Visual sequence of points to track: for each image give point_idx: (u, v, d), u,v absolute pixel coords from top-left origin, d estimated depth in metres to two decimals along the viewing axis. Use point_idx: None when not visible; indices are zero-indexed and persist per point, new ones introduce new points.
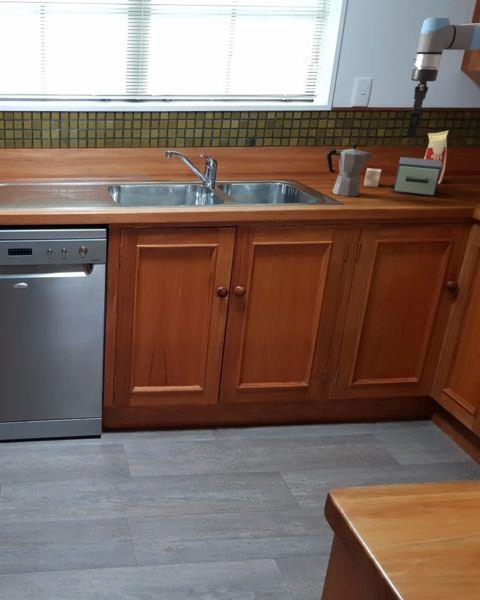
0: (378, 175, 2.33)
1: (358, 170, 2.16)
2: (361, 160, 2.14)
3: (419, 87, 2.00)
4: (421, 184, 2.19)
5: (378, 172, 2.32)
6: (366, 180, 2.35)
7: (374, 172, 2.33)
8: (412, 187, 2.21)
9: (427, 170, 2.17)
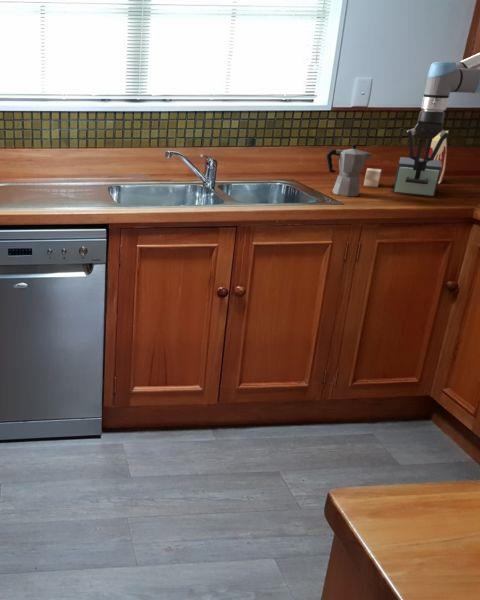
0: (378, 175, 2.33)
1: (358, 170, 2.16)
2: (361, 160, 2.14)
3: (446, 136, 2.06)
4: (421, 185, 2.18)
5: (378, 172, 2.32)
6: (366, 180, 2.35)
7: (374, 172, 2.33)
8: (412, 188, 2.20)
9: (427, 171, 2.16)
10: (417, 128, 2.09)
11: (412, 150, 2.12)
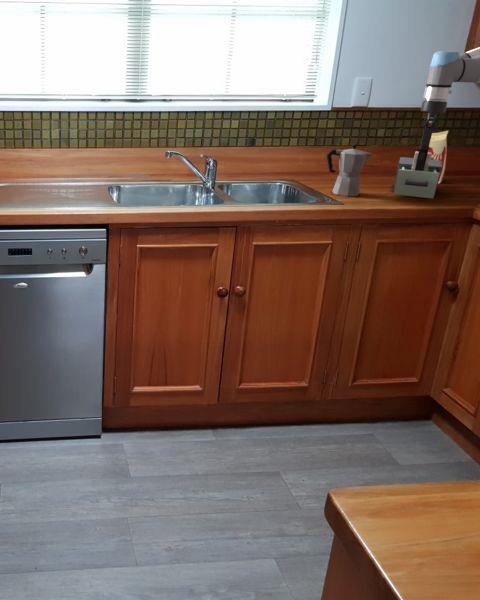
0: (428, 158, 2.11)
1: (358, 170, 2.16)
2: (361, 160, 2.14)
3: None
4: (421, 187, 2.14)
5: (428, 155, 2.10)
6: (415, 164, 2.13)
7: None
8: (411, 190, 2.15)
9: (427, 173, 2.11)
10: (434, 119, 2.06)
11: (429, 142, 2.07)
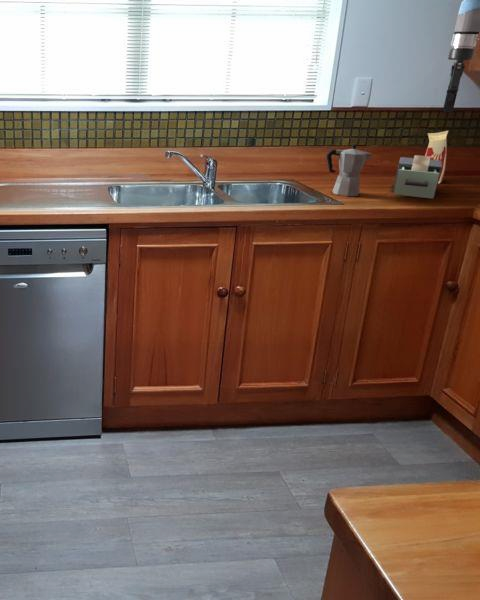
0: (428, 160, 2.13)
1: (358, 170, 2.16)
2: (361, 160, 2.14)
3: None
4: (421, 188, 2.14)
5: (428, 157, 2.13)
6: (414, 165, 2.14)
7: (423, 157, 2.14)
8: (411, 191, 2.15)
9: (427, 173, 2.11)
10: None
11: None
